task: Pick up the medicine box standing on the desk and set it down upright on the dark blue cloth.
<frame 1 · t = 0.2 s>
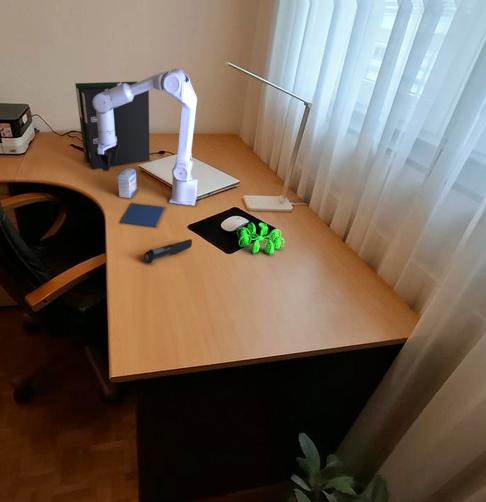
hand: (109, 166, 129), 10 cm above the table, tool pointing down, fingers open, 7 cm apart
medicine box: (128, 193, 135), on the table
green cluster: (258, 244, 110), on the table
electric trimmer: (167, 254, 103), on the table
binder: (117, 160, 163), on the table
cloth: (143, 215, 121), on the table
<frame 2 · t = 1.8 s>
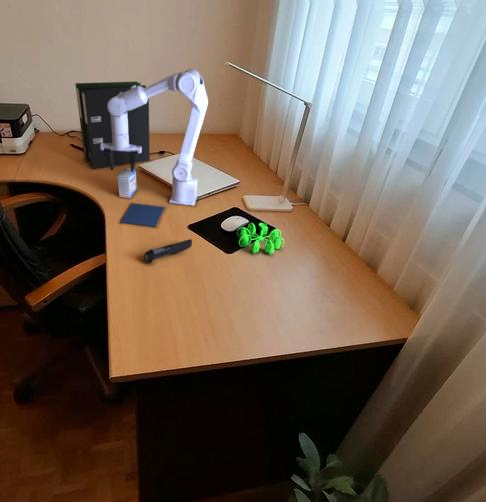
hand: (122, 170, 129), 9 cm above the table, tool pointing down, fingers open, 7 cm apart
nothing on the table moved.
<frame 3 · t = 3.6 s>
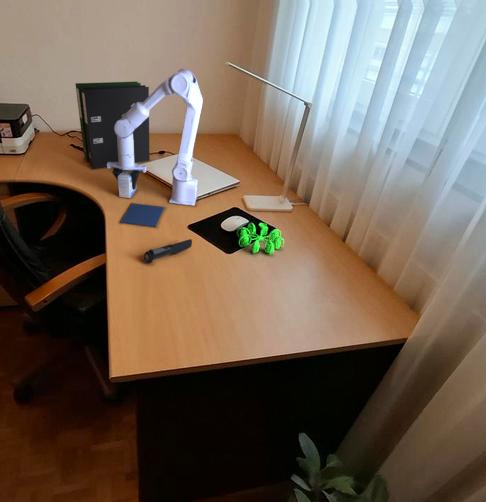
hand: (127, 187, 133), 2 cm above the table, tool pointing down, fingers closed on medicine box, 4 cm apart
medicine box: (128, 193, 135), on the table, touching gripper
everything else where it was.
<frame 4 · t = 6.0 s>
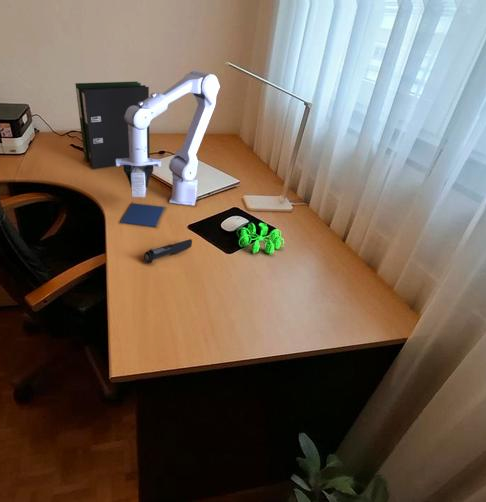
hand: (139, 186, 118), 9 cm above the table, tool pointing down, fingers closed on medicine box, 4 cm apart
medicine box: (139, 193, 120), point 7 cm above the table, touching gripper
everything else where it was.
when the fingers open (3 cm above the table, at t = 8.4 s): medicine box stays where it is, resting on cloth.
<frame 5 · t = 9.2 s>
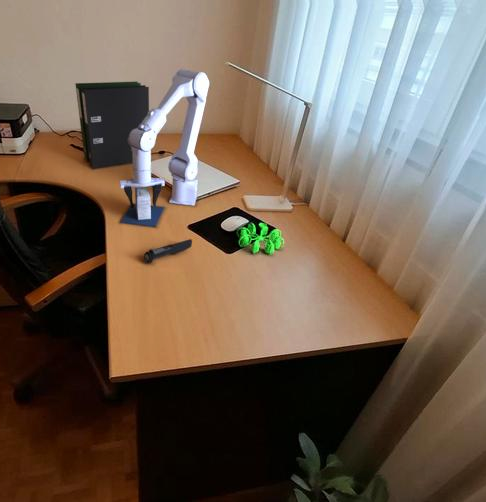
hand: (143, 205, 119), 4 cm above the table, tool pointing down, fingers open, 7 cm apart
medicine box: (143, 214, 121), resting on cloth
everything else where it was.
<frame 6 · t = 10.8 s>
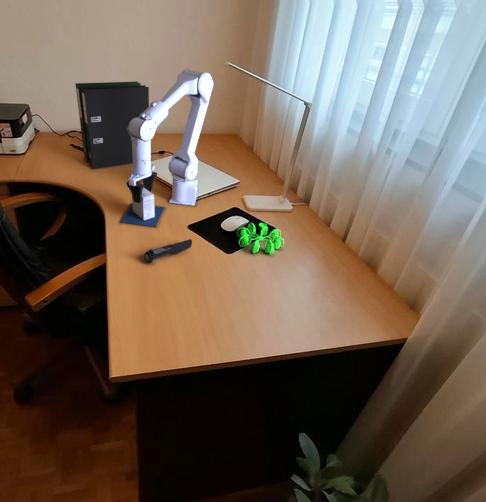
hand: (142, 197, 117), 7 cm above the table, tool pointing down
medicine box: (143, 214, 121), resting on cloth, touching gripper
everything else where it was.
when the fingers open (9 cm above the table, at t = 12.2 s): medicine box stays where it is, resting on cloth.
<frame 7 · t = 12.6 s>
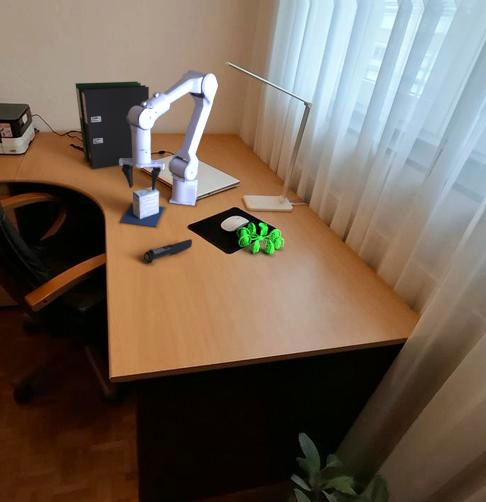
hand: (142, 187, 116), 10 cm above the table, tool pointing down, fingers open, 7 cm apart
medicine box: (146, 214, 121), resting on cloth
everything else where it was.
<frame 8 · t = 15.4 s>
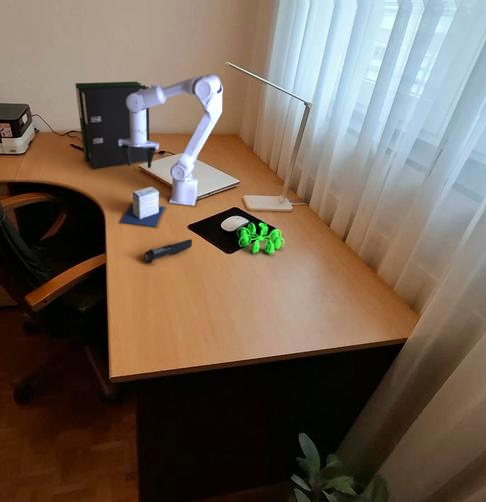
hand: (139, 166, 130), 10 cm above the table, tool pointing down, fingers open, 7 cm apart
nothing on the table moved.
at the end: medicine box inside the target area on the cloth (1.0 cm from its centre), point 0.1 cm above the cloth's base; medicine box tilted 0°; the gripper is holding nothing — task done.
